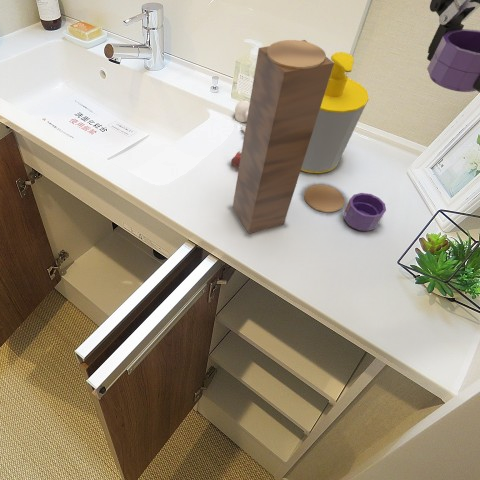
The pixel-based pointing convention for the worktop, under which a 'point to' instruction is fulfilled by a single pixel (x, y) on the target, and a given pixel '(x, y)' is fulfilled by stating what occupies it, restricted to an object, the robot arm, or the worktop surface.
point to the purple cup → (364, 211)
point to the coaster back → (324, 198)
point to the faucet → (242, 111)
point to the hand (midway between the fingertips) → (458, 73)
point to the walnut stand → (276, 139)
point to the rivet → (243, 128)
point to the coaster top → (296, 54)
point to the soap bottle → (335, 117)
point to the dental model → (236, 159)
